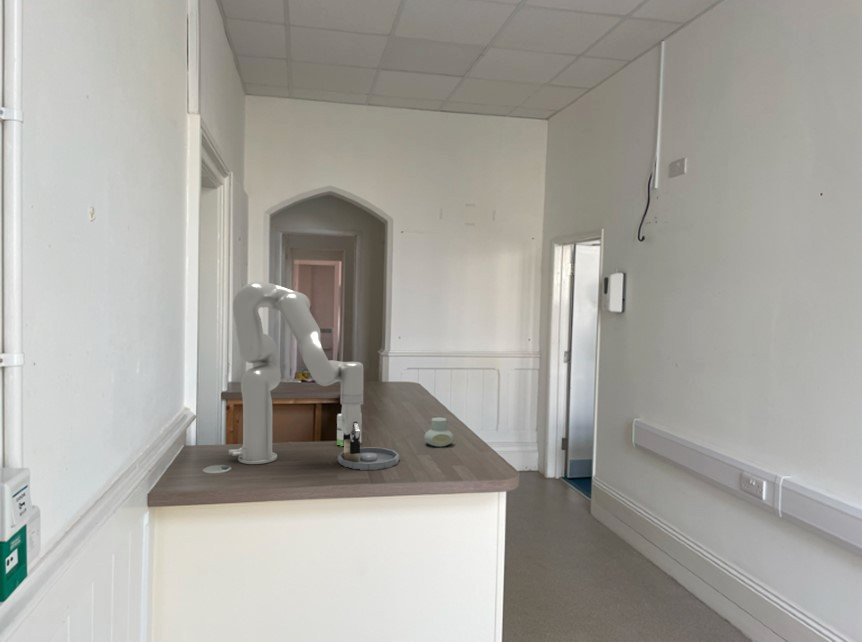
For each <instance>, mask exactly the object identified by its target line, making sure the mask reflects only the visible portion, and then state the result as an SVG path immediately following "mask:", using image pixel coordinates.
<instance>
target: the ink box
mask: <svg viewBox="0 0 862 642" xmlns="http://www.w3.org/2000/svg"><path fill="white" fill-rule="evenodd" d="M362 414H363V413H362V412H361V424H362V423H363V422H362V421H363V420H362V417H363V415H362ZM336 424H337V425H336V446H337V445H340V446H339V447H342V446H343V435H344V433H343V431H342V430H341V413H337V415H336ZM359 435H360V443H361V444H362V432H361V433H360V434H359ZM353 436H354V435H353Z"/></svg>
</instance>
